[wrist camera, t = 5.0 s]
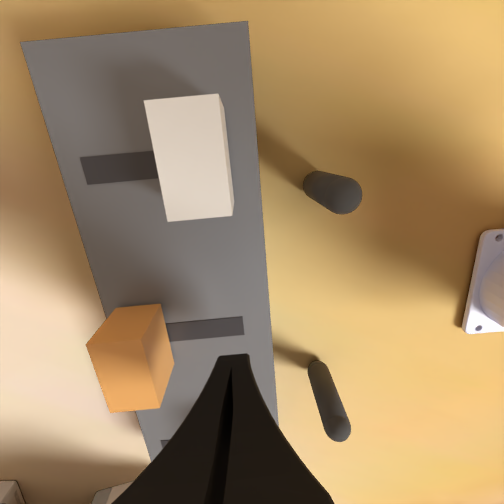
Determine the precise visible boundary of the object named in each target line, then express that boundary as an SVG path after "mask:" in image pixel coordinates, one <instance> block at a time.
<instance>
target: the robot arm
mask: <svg viewBox="0 0 504 504" xmlns="http://www.w3.org/2000/svg"><path fill="white" fill-rule="evenodd" d="M497 235H498V237H497V238H496V236H497ZM495 238H496V239H495ZM462 330H463V331H464V332H466V333H467V334H476V333H487V332H497V331H504V228H503V229H493V230H487V231H485V232H483V233H482V234H481V236H480V240H479V245H478V249H477V254H476V259H475V264H474V269H473V274H472V279H471V284H470V289H469V294H468V299H467V304H466V308H465V313H464V318H463V323H462ZM111 504H334V502H333V500H332V498H331V496H330V495H329V493H328V492H327V491H326V490H325V489H324V487H323V486H322V485H321V484H320V483H319V482H318V480H317V479H316V478H315V477H314V476H313V475H312V473H311V472H310V471H309V470H308V468H307V467H306V466H305V464H304V463H303V462H302V461H301V459H300V458H299V457H298V455H297V454H296V452H295V451H294V449H293V448H292V447H291V445H290V444H289V442H288V441H287V440H286V438H285V437H284V435H283V433H282V432H281V430H280V429H279V427H278V425H277V424H276V422H275V420H274V418H273V417H272V415H271V413H270V411H269V409H268V407H267V405H266V403H265V401H264V399H263V397H262V395H261V393H260V390H259V388H258V385H257V383H256V380H255V378H254V375H253V372H252V368H251V364H250V355H248V354H247V353H244V354H233V355H222V356H219V357H218V358H217V361H216V363H215V365H214V368H213V370H212V372H211V374H210V376H209V378H208V380H207V382H206V384H205V386H204V388H203V390H202V392H201V393H200V395H199V397H198V399H197V400H196V402H195V404H194V405H193V407H192V408H191V410H190V412H189V413H188V415H187V416H186V418H185V419H184V421H183V422H182V424H181V425H180V427H179V428H178V429H177V431H176V432H175V434H174V435H173V436H172V437H171V439H170V440H169V441H168V443H167V444H166V445H165V446H164V448H163V449H162V450H161V451H160V453H159V454H158V455H157V456H156V457H155V459H154V460H153V461H152V462H151V463H150V464H149V465H148V466H147V467H146V468H145V470H144V471H143V472H142V473H141V474H140V475H139V476H138V477H137V478H136V479H135V481H134V482H133V483H132V484H131V485H130V486H129V487H128V488H127V489H126V490H125V491H124V492H123V493H122V494H121V495H120V496H119V497H117V498H116V499H115V500H114V501H113V502H112V503H111Z"/></svg>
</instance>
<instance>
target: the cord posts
mask: <svg viewBox="0 0 504 504" xmlns="http://www.w3.org/2000/svg"><path fill="white" fill-rule="evenodd" d="M303 189H304V192H305V193H306V195H307V196H309V197H310V198H312V199H313V200H315V201H316V202H318V203H319V204H321V205H322V206H324V207H326V208H327V209H329V210H330V211H332V212H334V213H336V214H347V213H350V212H352V211H354V210H355V209H356V208H357V207H358V206H359V204H360V202H361V199H362V190H361V187H360V185H359V184H358V183H357V182H356V181H355V180H353V179H351V178H348V177H344V176H339V175H335V174H330V173H326V172H321V171H315V172H312V173H310V174H309V175H307V177H306V178H305V180H304V183H303ZM308 376H309V379H310V383H311V386H312V390H313V393H314V396H315V400H316V403H317V406H318V410H319V413H320V416H321V420H322V423H323V426H324V430H325V432H326V434H327V435H328V437H329V438H331V439H332V440H334V441H337V442H342V441H345V440H346V439H347V438H348V437H349V435H350V432H351V425H350V422H349V419H348V417H347V414H346V412H345V409H344V407H343V404H342V402H341V399H340V397H339V394H338V392H337V389H336V387H335V384H334V382H333V379H332V377H331V374H330V372H329V369H328V367H327V366H326V365H325V364H324V363H323V362H321V361H314V362H312V363H311V364H310V365H309V367H308Z"/></svg>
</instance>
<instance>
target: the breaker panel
mask: <svg viewBox="0 0 504 504" xmlns="http://www.w3.org/2000/svg"><path fill="white" fill-rule="evenodd" d="M20 44H21V47H22V50H23V53H24V56H25V59H26V63H27V66H28V69H29V72H30V75H31V79H32V82H33V85H34V88H35V91H36V95H37V98H38V101H39V104H40V107H41V111H42V114H43V117H44V120H45V123H46V127H47V130H48V133H49V136H50V139H51V143H52V146H53V149H54V152H55V155H56V159H57V162H58V165H59V168H60V171H61V175H62V178H63V181H64V184H65V187H66V191H67V194H68V197H69V200H70V203H71V206H72V210H73V213H74V216H75V219H76V222H77V226H78V229H79V232H80V235H81V238H82V242H83V245H84V248H85V251H86V254H87V258H88V261H89V264H90V267H91V270H92V274H93V277H94V280H95V283H96V286H97V290H98V293H99V296H100V299H101V302H102V306H103V309H104V312H105V315H106V318H108V317H109V316H110V314H111V313H112V312H113V311H114V310H115V308H119V307H129V306H140V305H150V304H161V307H162V312H163V316H164V320H165V325H166V329H167V333H168V338H169V342H170V346H171V351H172V355H173V359H174V366H173V369H172V372H171V375H170V378H169V381H168V385H167V388H166V391H165V394H164V397H163V400H162V403H161V406H160V408H156V409H146V410H135V411H136V414H137V417H138V421H139V424H140V427H141V430H142V433H143V437H144V440H145V443H146V446H147V449H148V453H149V456H150V459H151V462H152V461H153V460H154V459H155V457H156V456H157V455H158V454H159V453H160V451H161V450H162V449H163V448H164V446H165V445H166V444H167V443H168V441H169V440H170V439H171V437H172V436H173V435H174V434H175V432H176V431H177V429H178V428H179V427H180V425H181V424H182V422H183V421H184V419H185V418H186V416H187V415H188V413H189V412H190V410H191V408H192V407H193V405H194V404H195V402H196V400H197V399H198V397H199V395H200V393H201V392H202V390H203V388H204V386H205V384H206V382H207V380H208V378H209V376H210V374H211V372H212V370H213V368H214V365H215V363H216V361H217V358H218V357H219V356H222V355H233V354H244V353H247V354H248V355H250V364H251V368H252V372H253V375H254V378H255V380H256V383H257V385H258V388H259V390H260V393H261V395H262V397H263V399H264V401H265V403H266V405H267V407H268V409H269V411H270V413H271V415H272V417H273V418H274V420H275V422H276V424H277V425H278V427H279V424H278V411H277V398H276V385H275V371H274V358H273V345H272V332H271V319H270V305H269V292H268V279H267V266H266V253H265V239H264V226H263V213H262V200H261V186H260V173H259V160H258V147H257V134H256V120H255V107H254V94H253V81H252V68H251V54H250V41H249V28H248V21H242V22H231V23H220V24H209V25H198V26H188V27H177V28H166V29H155V30H145V31H134V32H123V33H112V34H101V35H91V36H80V37H69V38H58V39H48V40H37V41H26V42H20ZM207 94H219V97H220V99H221V102H222V104H223V107H224V112H225V121H226V130H227V139H228V149H229V158H230V167H231V176H232V185H233V194H234V208H233V214H232V216H225V217H215V218H204V219H193V220H183V221H172V222H168V221H167V216H166V211H165V206H164V201H163V196H162V191H161V186H160V181H159V176H158V171H157V166H156V161H155V155H154V150H153V145H152V140H151V135H150V130H149V125H148V120H147V115H146V110H145V105H144V100H153V99H164V98H175V97H186V96H196V95H207Z"/></svg>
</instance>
